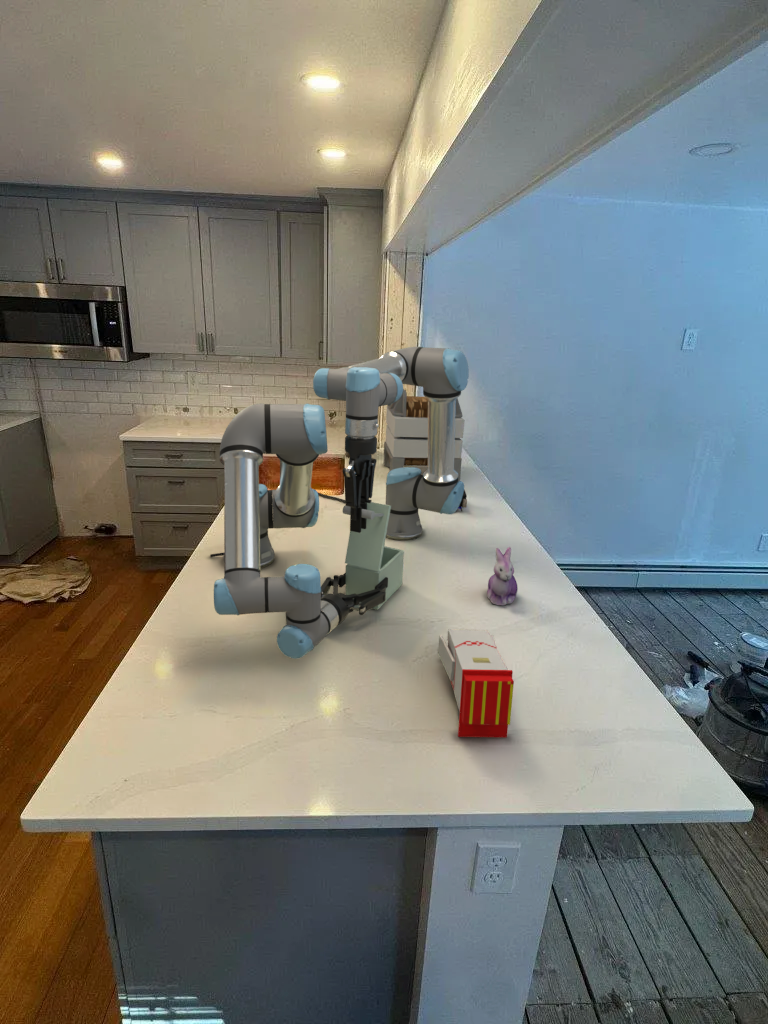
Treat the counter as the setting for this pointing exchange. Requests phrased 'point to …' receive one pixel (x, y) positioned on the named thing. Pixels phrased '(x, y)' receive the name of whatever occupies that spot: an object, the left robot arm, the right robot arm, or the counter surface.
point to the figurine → (502, 580)
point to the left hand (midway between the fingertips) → (369, 577)
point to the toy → (478, 682)
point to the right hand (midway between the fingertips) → (358, 529)
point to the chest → (377, 574)
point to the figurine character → (463, 501)
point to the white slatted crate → (414, 433)
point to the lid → (368, 537)
